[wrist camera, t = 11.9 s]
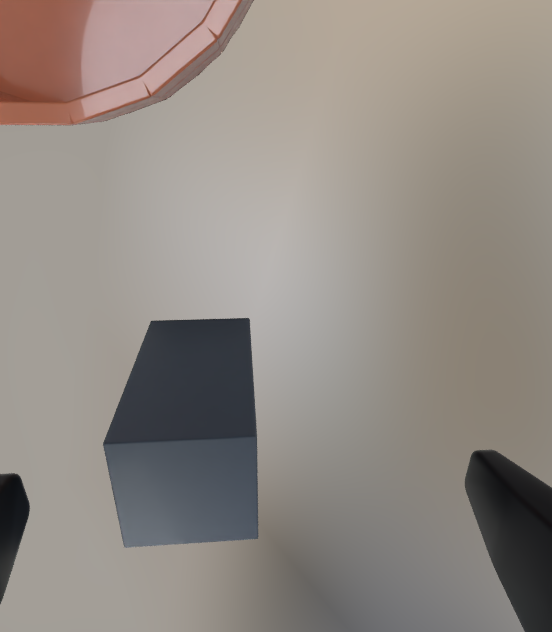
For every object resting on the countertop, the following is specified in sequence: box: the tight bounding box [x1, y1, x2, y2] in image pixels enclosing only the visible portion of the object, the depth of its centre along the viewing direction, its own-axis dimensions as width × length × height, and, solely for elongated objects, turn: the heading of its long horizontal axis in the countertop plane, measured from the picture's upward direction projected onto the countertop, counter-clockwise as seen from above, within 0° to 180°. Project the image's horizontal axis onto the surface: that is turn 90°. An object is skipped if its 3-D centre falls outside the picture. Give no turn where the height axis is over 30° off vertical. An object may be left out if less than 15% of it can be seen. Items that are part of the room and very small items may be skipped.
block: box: [103, 318, 258, 548], centre depth 17 cm, size 4×4×8 cm
